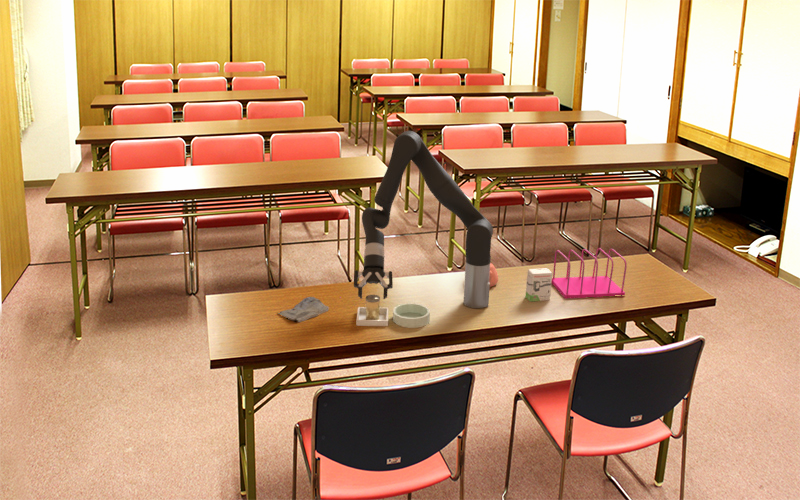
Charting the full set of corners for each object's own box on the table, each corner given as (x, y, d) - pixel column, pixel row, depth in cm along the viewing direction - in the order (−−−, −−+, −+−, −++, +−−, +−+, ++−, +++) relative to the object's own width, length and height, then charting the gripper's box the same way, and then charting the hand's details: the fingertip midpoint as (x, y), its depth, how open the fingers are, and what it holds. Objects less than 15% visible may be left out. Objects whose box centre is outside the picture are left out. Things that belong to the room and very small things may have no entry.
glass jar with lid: (379, 315, 261) (380, 294, 258) (379, 322, 256) (379, 300, 253) (365, 315, 261) (366, 294, 258) (365, 321, 256) (365, 300, 253)
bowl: (428, 313, 265) (429, 303, 264) (430, 329, 253) (430, 319, 252) (393, 312, 265) (393, 302, 264) (392, 328, 253) (393, 318, 251)
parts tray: (388, 313, 264) (388, 307, 263) (387, 327, 254) (387, 320, 253) (358, 313, 264) (358, 307, 263) (356, 326, 254) (356, 320, 253)
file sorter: (550, 282, 296) (553, 246, 291) (607, 279, 300) (611, 244, 295) (564, 299, 280) (569, 262, 275) (625, 296, 284) (630, 259, 278)
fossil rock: (296, 325, 255) (295, 319, 254) (272, 312, 265) (271, 306, 264) (334, 311, 266) (334, 305, 266) (309, 299, 276) (309, 293, 276)
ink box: (529, 301, 277) (532, 273, 273) (524, 296, 281) (527, 269, 277) (550, 300, 279) (553, 272, 275) (545, 295, 283) (547, 267, 279)
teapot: (476, 291, 285) (477, 269, 282) (461, 275, 302) (462, 254, 298) (504, 289, 288) (506, 267, 285) (487, 272, 305) (489, 251, 301)
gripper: (354, 252, 262) (352, 294, 255) (393, 253, 262) (392, 295, 255) (355, 261, 269) (353, 301, 262) (393, 262, 269) (392, 302, 262)
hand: (372, 298), depth 259 cm, fingers open, 8 cm apart
